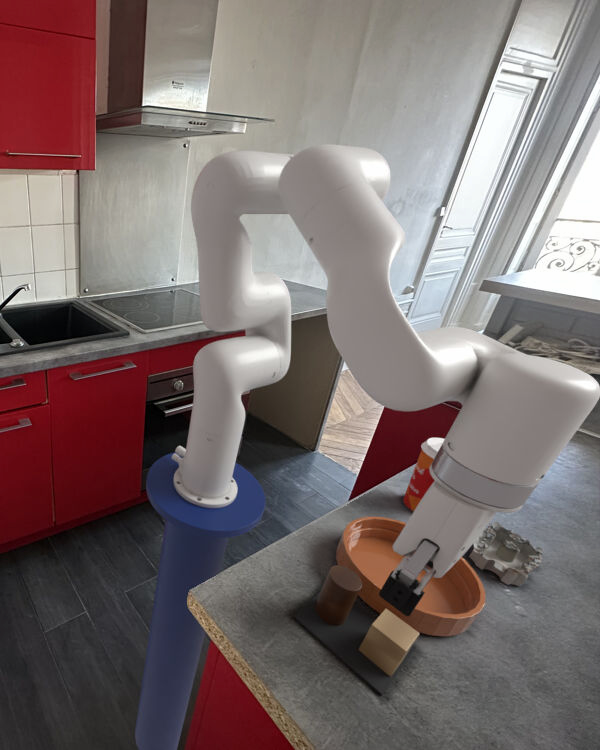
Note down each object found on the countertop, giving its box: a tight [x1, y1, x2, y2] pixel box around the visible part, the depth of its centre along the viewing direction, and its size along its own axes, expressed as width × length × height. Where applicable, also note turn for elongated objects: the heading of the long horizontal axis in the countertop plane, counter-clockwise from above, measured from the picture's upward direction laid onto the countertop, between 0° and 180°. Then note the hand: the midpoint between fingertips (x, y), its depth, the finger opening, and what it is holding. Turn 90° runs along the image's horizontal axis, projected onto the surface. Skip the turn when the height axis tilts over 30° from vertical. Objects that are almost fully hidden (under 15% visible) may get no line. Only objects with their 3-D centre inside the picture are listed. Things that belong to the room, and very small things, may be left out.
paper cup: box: [403, 437, 445, 512], centre depth 77 cm, size 8×8×14 cm
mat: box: [292, 589, 417, 697], centre depth 57 cm, size 12×10×1 cm
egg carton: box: [468, 520, 544, 587], centre depth 69 cm, size 11×8×4 cm
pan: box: [335, 516, 487, 637], centre depth 64 cm, size 18×18×4 cm
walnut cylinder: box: [315, 564, 362, 626], centre depth 58 cm, size 4×4×8 cm
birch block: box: [359, 609, 420, 677], centre depth 53 cm, size 4×4×6 cm
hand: (411, 583), depth 49 cm, fingers open, 9 cm apart
